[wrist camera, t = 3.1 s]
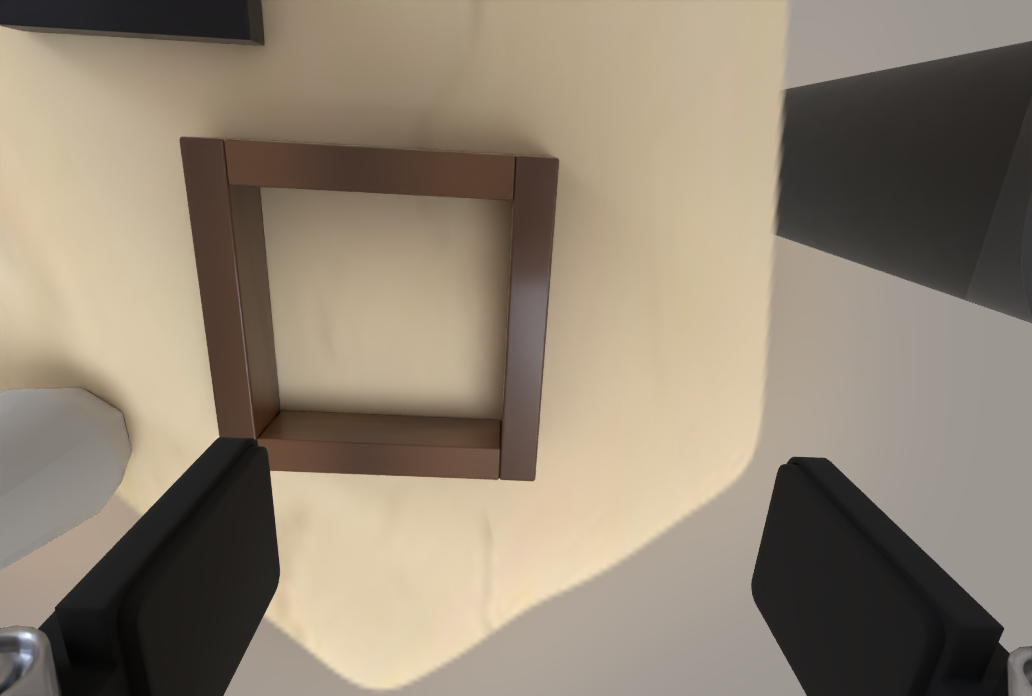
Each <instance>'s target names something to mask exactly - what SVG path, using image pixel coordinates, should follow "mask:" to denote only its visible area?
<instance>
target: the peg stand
mask: <svg viewBox="0 0 1032 696" xmlns="http://www.w3.org/2000/svg"><path fill="white" fill-rule="evenodd" d="M0 26H4V27H8V28H12V29H17V30H21V31H31V32H47V33H64V34H80V35H96V36H112V37H129V38H145V39H161V40H178V41H194V42H210V43H226V44H243V45H259V46H264V32H263V20H262V8H261V0H0Z"/></svg>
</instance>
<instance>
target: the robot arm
mask: <svg viewBox="0 0 1032 696" xmlns="http://www.w3.org/2000/svg"><path fill="white" fill-rule="evenodd" d="M279 577H280V565H279V555H278V545H277V536H276V526H275V516H274V506H273V496H272V487H271V477H270V467H269V457H268V451H267V449H266V448H265V447H261V446H258V443H257V441H256V440H255V439H254V438H234V437H219V438H218V439H217V440H215V441H214V442H213V444H212V445H211V446H210V447H209V448H208V449H207V450H206V451H205V452H204V453H203V454H202V455H201V456H200V457H199V458H198V459H197V460H196V461H195V462H194V463H193V464H192V465H191V466H190V467H189V468H188V470H187V471H186V472H185V473H184V474H183V475H182V476H181V477H180V478H179V479H178V480H177V481H176V482H175V483H174V484H173V485H172V486H171V487H170V488H169V489H168V490H167V491H166V492H165V493H164V494H163V496H162V497H161V498H160V499H159V500H158V501H157V502H156V503H155V504H154V505H153V506H152V507H151V508H150V509H149V510H148V511H147V512H146V513H145V514H144V515H143V516H142V517H141V518H140V519H139V520H138V522H137V523H136V524H135V525H134V526H133V527H132V528H131V529H130V530H129V531H128V532H127V533H126V534H125V535H124V536H123V537H122V538H121V539H120V541H118V542H117V543H116V544H115V545H114V546H113V548H112V549H111V550H110V551H109V552H108V553H107V554H106V555H105V556H104V557H103V558H102V559H101V560H100V561H99V562H98V563H97V564H96V565H95V566H94V567H93V568H92V569H91V570H90V571H89V573H88V574H87V575H86V576H85V577H84V578H83V579H82V580H81V581H80V582H79V583H78V584H77V585H76V586H75V587H74V588H73V589H72V590H71V591H70V592H69V593H68V594H67V595H66V596H65V597H64V599H63V600H62V601H61V602H60V603H59V604H58V605H57V606H56V607H55V611H54V612H53V614H52V615H51V616H50V617H49V618H48V619H47V620H46V621H45V622H44V623H43V624H42V625H41V626H40V627H39V628H38V629H36V628H34V627H25V626H9V627H3V628H0V696H223V695H224V693H225V691H226V689H227V687H228V685H229V683H230V681H231V679H232V677H233V675H234V673H235V671H236V669H237V667H238V666H239V664H240V661H241V660H242V658H243V656H244V654H245V652H246V649H247V648H248V646H249V643H250V641H251V640H252V637H253V636H254V633H255V632H256V630H257V628H258V626H259V624H260V622H261V619H262V618H263V616H264V614H265V612H266V610H267V608H268V606H269V604H270V602H271V600H272V598H273V596H274V594H275V592H276V589H277V586H278V583H279ZM751 587H752V595H753V598H754V601H755V603H756V605H757V607H758V609H759V611H760V612H761V614H762V616H763V618H764V619H765V621H766V623H767V625H768V626H769V628H770V630H771V632H772V634H773V636H774V637H775V639H776V641H777V643H778V645H779V646H780V648H781V650H782V652H783V654H784V655H785V657H786V659H787V661H788V662H789V664H790V666H791V668H792V670H793V671H794V673H795V675H796V677H797V679H798V680H799V682H800V684H801V686H802V688H803V689H804V691H805V693H806V695H807V696H1032V646H1030V647H1019V648H1017V649H1016V650H1014V651H1012V652H1011V653H1009V652H1008V651H1006V649H1004V648H1003V646H1002V645H1001V644H1000V643H999V639H1000V637H1001V635H1002V633H1003V630H1004V627H1003V626H1002V625H1001V624H999V623H998V622H997V621H996V620H995V619H994V618H993V617H992V616H991V615H990V614H989V613H988V612H987V611H986V610H985V609H984V608H983V607H982V606H981V605H980V604H978V603H977V602H976V601H975V600H974V599H973V598H972V597H971V596H970V595H969V594H968V593H967V592H966V591H965V590H964V589H963V588H962V587H961V586H960V585H959V584H958V583H957V582H956V581H955V580H953V579H952V578H951V577H950V576H949V575H948V574H947V573H946V572H945V571H944V570H943V569H942V568H941V567H940V566H939V565H938V564H937V563H936V562H935V561H934V560H933V559H932V558H931V557H929V555H927V554H926V553H925V552H924V551H923V550H922V549H921V548H920V547H919V546H918V545H917V544H916V543H915V542H914V541H913V540H912V539H911V538H909V536H908V535H907V534H905V532H903V531H902V530H901V529H900V528H899V527H898V526H897V525H896V524H895V523H894V522H893V521H892V520H891V519H890V518H889V517H888V516H887V515H886V514H885V513H884V512H883V511H882V510H881V509H879V508H878V507H877V506H876V505H875V504H874V503H873V502H872V501H871V500H870V499H869V498H868V497H867V496H866V495H865V494H864V493H863V492H861V490H860V489H859V488H858V487H856V486H855V485H854V484H853V483H852V482H851V481H850V480H849V479H848V478H847V477H846V476H845V475H844V474H843V473H842V472H841V471H840V470H839V469H838V468H837V467H836V466H835V465H834V464H832V463H831V462H830V461H829V460H827V459H826V458H814V457H792V458H791V459H790V460H789V461H788V462H787V464H783V465H781V466H780V467H779V469H778V472H777V476H776V480H775V484H774V489H773V493H772V497H771V501H770V506H769V510H768V514H767V518H766V522H765V527H764V531H763V535H762V539H761V544H760V548H759V552H758V556H757V560H756V565H755V569H754V573H753V577H752V583H751Z"/></svg>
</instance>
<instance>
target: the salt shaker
mask: <svg viewBox="0 0 1032 696" xmlns="http://www.w3.org/2000/svg"><path fill="white" fill-rule="evenodd" d="M130 454H131V446H130V442H129V438H128V434H127V430H126V426H125V422H124V418H123V414H122V412H121V411H119V410H118V409H116V408H114V407H113V406H111V405H109V404H108V403H106V402H104V401H103V400H101V399H99V398H98V397H96V396H95V395H93V394H91V393H90V392H88V391H86V390H85V389H83V388H81V387H75V388H51V389H10V390H6V391H3V392H0V570H2V569H4V568H5V567H7V566H9V565H11V564H12V563H14V562H16V561H17V560H19V559H21V558H22V557H24V556H26V555H28V554H29V553H31V552H33V551H34V550H36V549H38V548H40V547H41V546H43V545H45V544H46V543H48V542H50V541H52V540H53V539H55V538H57V537H58V536H60V535H62V534H63V533H65V532H67V531H69V530H70V529H72V528H74V527H75V526H77V525H78V524H81V523H82V522H84V521H85V520H87V519H89V518H91V517H93V516H94V515H96V514H98V513H99V512H100V511H101V510H102V508H103V507H104V506H105V505H106V503H107V502H108V500H109V499H110V498H111V496H112V495H113V493H114V492H115V491H116V489H117V488H118V486H119V485H120V483H121V482H122V479H123V476H124V473H125V469H126V466H127V463H128V460H129V457H130Z"/></svg>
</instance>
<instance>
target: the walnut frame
mask: <svg viewBox="0 0 1032 696" xmlns="http://www.w3.org/2000/svg"><path fill="white" fill-rule="evenodd" d="M180 147H181V155H182V162H183V169H184V177H185V184H186V192H187V199H188V207H189V214H190V221H191V229H192V236H193V244H194V251H195V258H196V266H197V273H198V281H199V288H200V295H201V303H202V310H203V318H204V325H205V333H206V340H207V347H208V355H209V362H210V370H211V377H212V384H213V392H214V399H215V407H216V414H217V422H218V429H219V436H220V437H234V438H254V439H255V440H256V441H257V443H258V446H261V447H265V448H266V449H267V451H268V457H269V467H270V471H292V472H317V473H342V474H367V475H392V476H417V477H442V478H468V479H493V480H498V479H499V478H500V479H501V480H518V481H534V480H535V475H536V462H537V448H538V435H539V422H540V408H541V395H542V382H543V369H544V355H545V342H546V329H547V315H548V302H549V289H550V276H551V262H552V249H553V236H554V222H555V209H556V196H557V183H558V169H559V159H558V158H555V157H552V156H537V155H520V154H517V155H516V156H515V155H514V154H502V153H484V152H467V151H449V150H431V149H414V148H396V147H378V146H361V145H343V144H326V143H308V142H290V141H273V140H252V139H237V138H219V137H180ZM259 187H274V188H292V189H310V190H329V191H347V192H366V193H384V194H403V195H421V196H439V197H458V198H476V199H495V200H513V204H512V224H511V243H510V263H509V283H508V303H507V323H506V342H505V362H504V382H503V402H502V422H501V420H489V419H466V418H443V417H419V416H396V415H373V414H349V413H326V412H303V411H281V412H280V403H279V392H278V382H277V371H276V360H275V349H274V339H273V328H272V317H271V307H270V296H269V285H268V274H267V264H266V253H265V242H264V231H263V221H262V210H261V199H260V189H259Z"/></svg>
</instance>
